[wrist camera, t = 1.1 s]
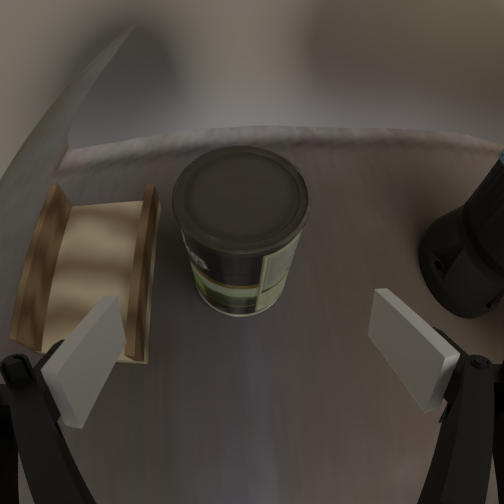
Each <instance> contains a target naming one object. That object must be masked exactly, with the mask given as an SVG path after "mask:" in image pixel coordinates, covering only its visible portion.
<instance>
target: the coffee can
mask: <svg viewBox="0 0 504 504" xmlns="http://www.w3.org/2000/svg"><path fill="white" fill-rule="evenodd" d="M172 205H173V210H174V214H175V217H176V220H177V222H178V224H179V226H180V229H181V232H182V236H183V240H184V243H185V247H186V250H187V253H188V257H189V260H190V263H191V267H192V270H193V274H194V277H195V282H196V287H197V289H198V292H199V294H200V295H201V297H202V298H203V300H204V301H205V302H206V303H207V304H208V305H209V306H210V307H212V308H213V309H214V310H216V311H218V312H220V313H222V314H225V315H228V316H234V317H247V316H252V315H256V314H259V313H261V312H263V311H265V310H266V309H268V308H269V307H271V306H272V305H273V304H274V303H275V302H276V301H277V299H278V298H279V297H280V295H281V293H282V291H283V289H284V286H285V281H286V277H287V274H288V271H289V268H290V265H291V262H292V259H293V256H294V253H295V250H296V247H297V244H298V241H299V238H300V235H301V232H302V228H303V226H304V225H305V223H306V220H307V218H308V215H309V212H310V207H311V194H310V189H309V186H308V184H307V181H306V179H305V178H304V176H303V174H302V173H301V172H300V171H299V169H298V168H297V167H296V166H295V165H293V164H292V163H291V162H290V161H288V160H287V159H285V158H284V157H282V156H280V155H278V154H276V153H274V152H271V151H268V150H265V149H261V148H256V147H249V146H233V147H226V148H221V149H218V150H214V151H211V152H209V153H207V154H204V155H202V156H200V157H199V158H197V159H196V160H194V161H193V162H192V163H190V164H189V166H187V167H186V168H185V170H184V171H183V172H182V173H181V175H180V176H179V178H178V180H177V182H176V184H175V186H174V190H173V195H172Z"/></svg>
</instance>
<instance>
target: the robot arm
mask: <svg viewBox="0 0 504 504" xmlns="http://www.w3.org/2000/svg"><path fill="white" fill-rule="evenodd" d="M419 258H420V265H421V269H422V273H423V276H424V278H425V281H426V283H427V285H428V287H429V288H430V290H431V292H432V293H433V295H434V296H435V297H436V299H437V300H438V301H439V302H440V303H441V304H442V305H443V306H444V307H445V308H446V309H448V310H449V311H450V312H452V313H454V314H455V315H458V316H460V317H463V318H477V317H480V316H482V315H484V314H485V313H487V312H489V311H490V310H492V309H493V308H494V307H495V306H496V305H497V304H498V303H499V302H500V300H501V299H502V297H503V296H504V149H503V150H502V151H501V153H500V158H499V159H498V161H497V162H496V164H495V165H494V166H493V168H492V169H491V171H490V172H489V173H488V175H487V176H486V177H485V179H484V180H483V181H482V183H481V184H480V185H479V186H478V188H477V189H476V190H475V192H474V193H473V194H472V195H471V197H470V198H469V199H468V201H467V202H466V203H465V204H464V205H463V206H461V207H459V208H457V209H455V210H453V211H451V212H449V213H447V214H445V215H443V216H441V217H440V218H438V219H437V220H435V221H434V222H433V223H432V224H431V226H430V227H429V228H428V229H427V231H426V232H425V233H424V235H423V237H422V239H421V243H420V248H419ZM367 335H368V337H369V338H370V339H371V341H372V342H373V343H374V345H375V346H376V347H377V349H378V350H379V351H380V353H381V354H382V356H383V357H384V358H385V360H386V361H387V362H388V364H389V365H390V366H391V368H392V369H393V371H394V372H395V373H396V375H397V376H398V377H399V379H400V380H401V382H402V383H403V384H404V386H405V387H406V389H407V390H408V391H409V393H410V394H411V396H412V397H413V399H414V400H415V401H416V403H417V404H418V406H419V407H420V408H421V410H422V411H423V413H426V412H430V411H433V410H436V409H438V408H439V406H440V404H441V402H442V399H443V398H444V399H445V400H446V401H447V406H446V408H445V410H444V412H443V414H442V416H441V418H440V420H439V423H441V422H442V424H441V428H440V432H439V436H438V440H437V444H436V448H435V451H434V455H433V458H432V462H431V465H430V468H429V471H428V474H427V477H426V480H425V483H424V486H423V489H422V492H421V495H420V497H419V500H418V502H417V504H485V500H486V495H487V489H488V483H489V476H490V468H491V460H492V454H493V460H494V466H495V473H496V480H497V489H498V500H499V504H504V360H503V363H502V364H492V363H491V361H490V360H489V359H487V358H485V357H484V356H480V355H468V354H467V353H466V352H464V351H463V350H462V349H461V348H460V347H459V346H458V345H457V344H456V343H455V342H454V343H453V341H452V340H451V339H450V338H448V336H447V335H446V334H445V333H444V332H442V331H441V330H439V329H437V328H435V327H431V326H430V325H428V324H427V323H426V322H425V321H424V320H423V319H422V318H421V317H419V316H418V315H417V314H416V313H415V312H414V311H413V310H412V309H410V308H409V307H408V306H407V305H406V304H405V303H404V302H402V301H401V300H400V299H399V298H398V297H397V296H395V295H394V294H393V293H392V292H391V291H390V290H388V289H387V288H385V289H375V290H374V297H373V304H372V310H371V316H370V322H369V328H368V333H367ZM125 344H126V338H125V333H124V328H123V323H122V318H121V313H120V307H119V302H118V296H105V295H104V296H103V297H102V299H101V300H100V301H99V302H98V303H97V304H96V305H95V306H94V307H93V308H92V310H91V311H90V312H89V313H88V314H87V315H86V316H85V317H84V319H83V320H82V321H81V322H80V323H79V324H78V325H77V327H76V328H75V329H74V330H73V331H72V332H71V334H70V335H69V336H68V337H67V338H66V339H65V340H63V339H62V340H60V341H58V342H57V343H55V344H54V345H53V346H52V347H51V348H50V349H49V350H48V353H46V354H45V355H44V356H43V358H41V360H40V361H39V362H38V363H37V364H36V366H35V367H34V368H33V369H32V366H31V364H30V361H29V359H28V357H27V356H26V355H24V354H14V355H10V356H8V357H6V358H5V359H3V360H2V361H1V363H0V372H1V374H2V376H3V378H4V380H5V383H6V384H0V504H19V493H18V450H19V454H20V458H21V462H22V466H23V469H24V473H25V476H26V479H27V482H28V485H29V489H30V492H31V494H32V497H33V500H34V503H35V504H96V502H95V500H94V498H93V497H92V495H91V493H90V491H89V489H88V487H87V486H86V484H85V482H84V480H83V478H82V476H81V474H80V472H79V470H78V468H77V466H76V464H75V462H74V459H73V457H72V455H71V453H70V451H69V448H68V446H67V444H66V441H65V439H64V436H63V434H62V432H61V429H60V427H59V425H58V423H57V421H58V419H59V417H60V415H61V417H62V419H63V421H64V423H65V425H66V426H70V427H74V428H79V429H82V428H83V426H84V424H85V422H86V420H87V418H88V416H89V414H90V412H91V410H92V408H93V406H94V404H95V402H96V400H97V398H98V396H99V394H100V392H101V390H102V388H103V386H104V384H105V382H106V380H107V378H108V376H109V374H110V372H111V370H112V368H113V367H114V365H115V363H116V361H117V359H118V357H119V355H120V353H121V352H122V350H123V348H124V346H125Z"/></svg>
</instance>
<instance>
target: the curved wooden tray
mask: <svg viewBox="0 0 504 504" xmlns="http://www.w3.org/2000/svg"><path fill="white" fill-rule="evenodd" d="M160 214H161V204H160V201H159V197H158V194H157V191H156V188H155V185H154V184H148V185H146V189H145V194H144V199H143V201H132V202H119V203H107V204H95V205H85V206H75V207H72V206H71V204H70V202H69V201H68V199H67V198H66V196H65V194H64V193H63V191H62V190H61V188H60V186H59V185H58V183H56V184H52V185H51V187H50V190H49V192H48V195H47V197H46V200H45V202H44V205H43V208H42V211H41V213H40V216H39V219H38V222H37V225H36V228H35V231H34V234H33V237H32V240H31V244H30V247H29V250H28V254H27V257H26V261H25V265H24V268H23V272H22V276H21V280H20V285H19V289H18V294H17V298H16V303H15V308H14V314H13V319H12V325H11V332H10V339H11V340H13V341H15V342H17V343H19V344H21V345H23V346H25V347H27V348H30V349H32V350H34V351H36V352H39V353H41V354H46V353H48V350H49V349H50V348H51V347H52V346H53V345H54V344H55V343H57V342H58V341H60V340H62V339H63V340H65V339H66V338H67V337H68V336H69V335H70V334H71V332H72V331H73V330H74V329H75V328H76V327H77V325H78V324H79V323H80V322H81V321H82V320H83V319H84V317H85V316H86V315H87V314H88V313H89V312H90V311H91V310H92V308H93V307H94V306H95V305H96V304H97V303H98V302H99V301H100V300H101V299H102V297H103V296H104V295H105V296H118V302H119V307H120V313H121V318H122V323H123V328H124V333H125V338H126V344H125V346H124V348H123V350H122V352H121V353H120V355H119V357H118V359H117V361H116V362H122V363H139V364H148V354H149V330H150V313H151V298H152V286H153V275H154V264H155V255H156V246H157V237H158V229H159V221H160Z"/></svg>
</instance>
